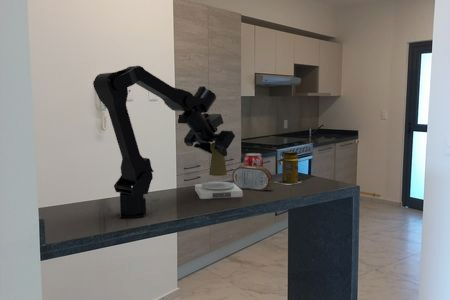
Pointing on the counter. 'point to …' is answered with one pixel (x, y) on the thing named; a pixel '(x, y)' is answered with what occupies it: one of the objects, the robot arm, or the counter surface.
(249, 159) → the soda can
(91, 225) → the counter surface
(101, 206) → the counter surface
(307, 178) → the counter surface
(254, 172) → the tin
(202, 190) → the scale
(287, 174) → the condiment
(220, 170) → the cork
